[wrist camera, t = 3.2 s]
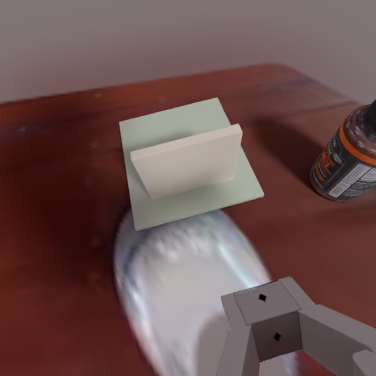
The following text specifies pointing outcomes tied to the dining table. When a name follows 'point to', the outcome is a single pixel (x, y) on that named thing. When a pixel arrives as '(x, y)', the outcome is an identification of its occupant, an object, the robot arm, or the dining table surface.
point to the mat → (194, 199)
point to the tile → (188, 162)
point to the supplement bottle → (348, 158)
